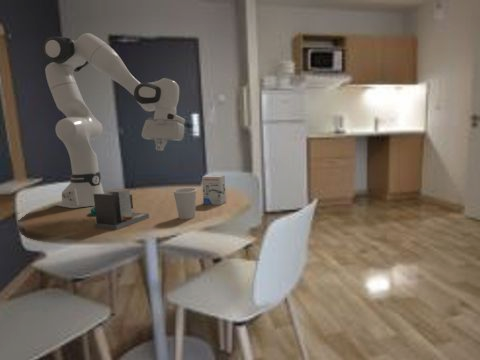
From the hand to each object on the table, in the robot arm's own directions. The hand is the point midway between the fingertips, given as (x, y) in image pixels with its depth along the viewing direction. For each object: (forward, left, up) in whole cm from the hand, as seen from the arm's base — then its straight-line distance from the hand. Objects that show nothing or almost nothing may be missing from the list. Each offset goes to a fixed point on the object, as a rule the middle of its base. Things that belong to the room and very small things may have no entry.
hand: (159, 150), depth 150 cm
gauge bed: (+4, -28, -23) cm, 36 cm away
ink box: (+21, +7, -23) cm, 32 cm away
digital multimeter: (-14, -16, -24) cm, 32 cm away
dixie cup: (+23, -16, -23) cm, 36 cm away
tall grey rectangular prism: (+5, -28, -22) cm, 36 cm away
